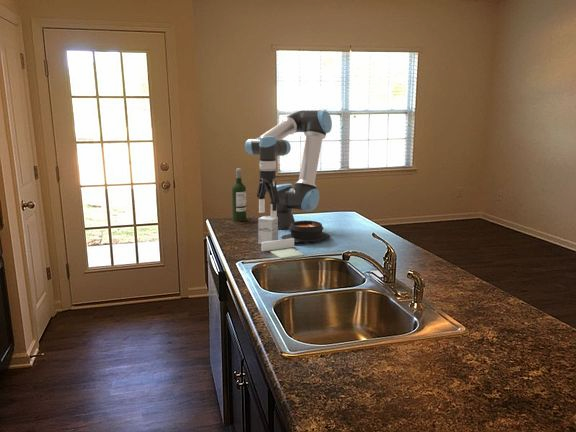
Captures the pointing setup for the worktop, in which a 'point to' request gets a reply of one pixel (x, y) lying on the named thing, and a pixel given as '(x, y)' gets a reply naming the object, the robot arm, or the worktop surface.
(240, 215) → the wine bottle
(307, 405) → the worktop surface
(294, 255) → the sage mat
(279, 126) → the robot arm
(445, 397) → the worktop surface
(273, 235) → the supplement box
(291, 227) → the casserole
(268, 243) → the acrylic wall
